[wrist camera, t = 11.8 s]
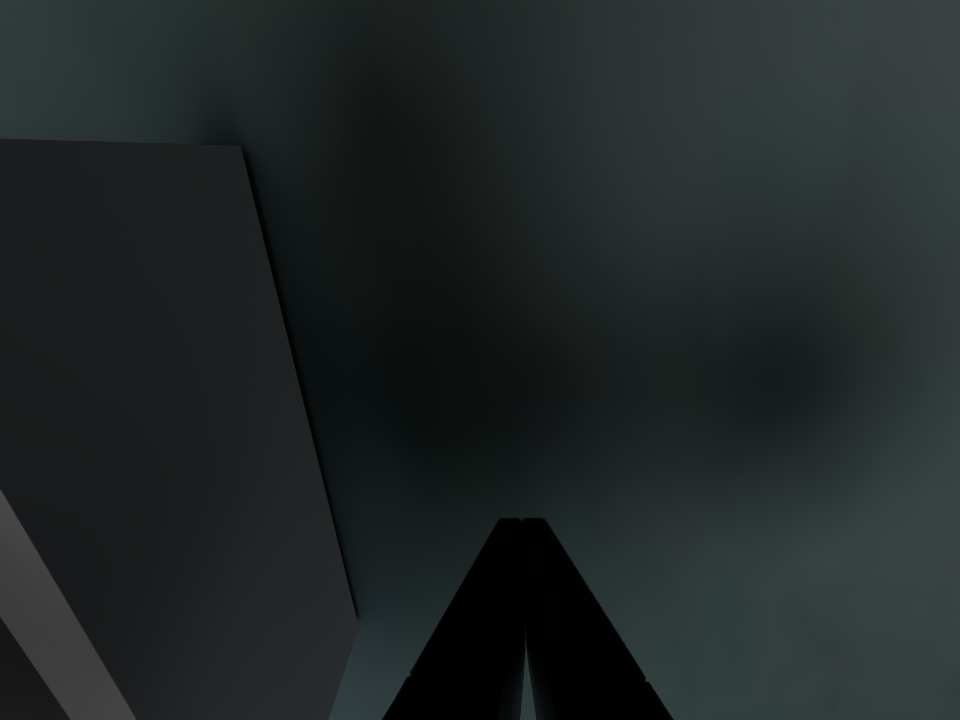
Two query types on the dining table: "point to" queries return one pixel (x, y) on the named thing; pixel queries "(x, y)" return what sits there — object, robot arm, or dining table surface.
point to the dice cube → (23, 685)
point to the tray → (157, 444)
